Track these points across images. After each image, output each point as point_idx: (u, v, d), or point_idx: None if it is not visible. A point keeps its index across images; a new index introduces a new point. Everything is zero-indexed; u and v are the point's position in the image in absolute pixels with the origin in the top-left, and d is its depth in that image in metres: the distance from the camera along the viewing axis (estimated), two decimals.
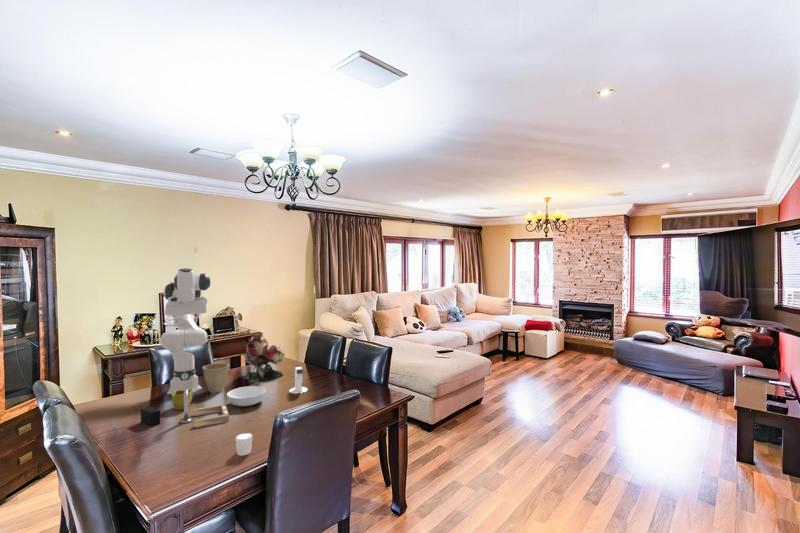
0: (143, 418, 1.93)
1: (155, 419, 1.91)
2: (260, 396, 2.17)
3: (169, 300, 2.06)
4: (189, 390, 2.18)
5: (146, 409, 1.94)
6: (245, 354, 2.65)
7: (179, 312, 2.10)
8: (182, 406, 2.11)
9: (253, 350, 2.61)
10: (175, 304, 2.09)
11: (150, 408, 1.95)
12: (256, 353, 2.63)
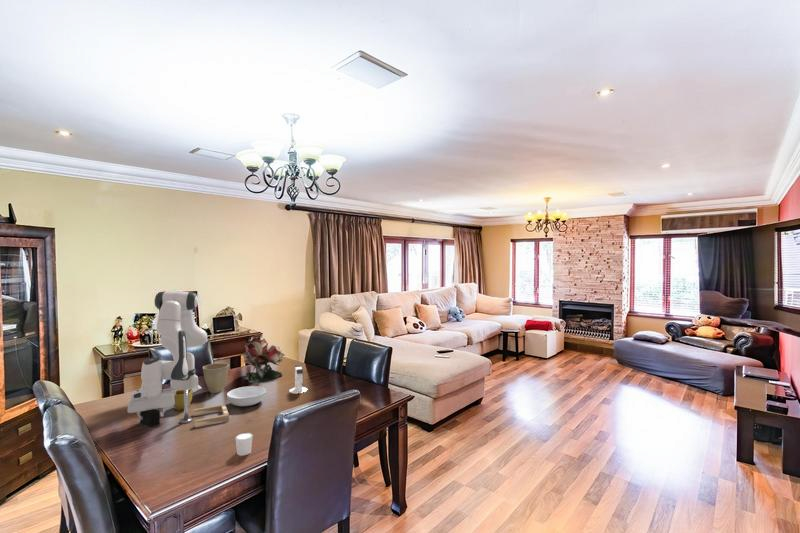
0: None
1: (154, 419, 1.91)
2: (260, 396, 2.17)
3: (132, 397, 1.87)
4: (189, 390, 2.18)
5: None
6: (245, 354, 2.64)
7: (144, 408, 1.91)
8: (182, 406, 2.11)
9: (253, 350, 2.60)
10: (139, 400, 1.90)
11: None
12: (256, 353, 2.62)
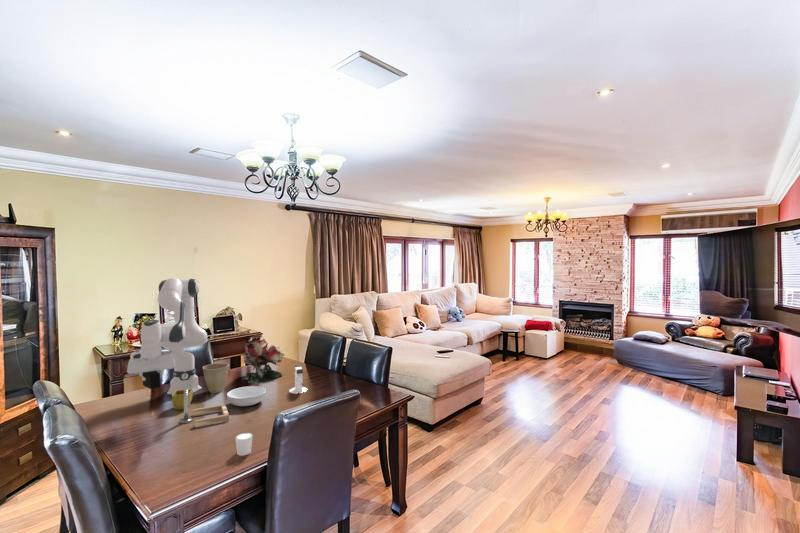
0: (145, 381, 1.94)
1: (154, 382, 1.90)
2: (260, 396, 2.17)
3: (131, 357, 1.87)
4: (189, 390, 2.18)
5: (147, 372, 1.94)
6: (244, 354, 2.64)
7: (144, 369, 1.91)
8: (182, 406, 2.11)
9: (252, 350, 2.60)
10: (138, 361, 1.89)
11: (151, 371, 1.95)
12: (255, 353, 2.62)
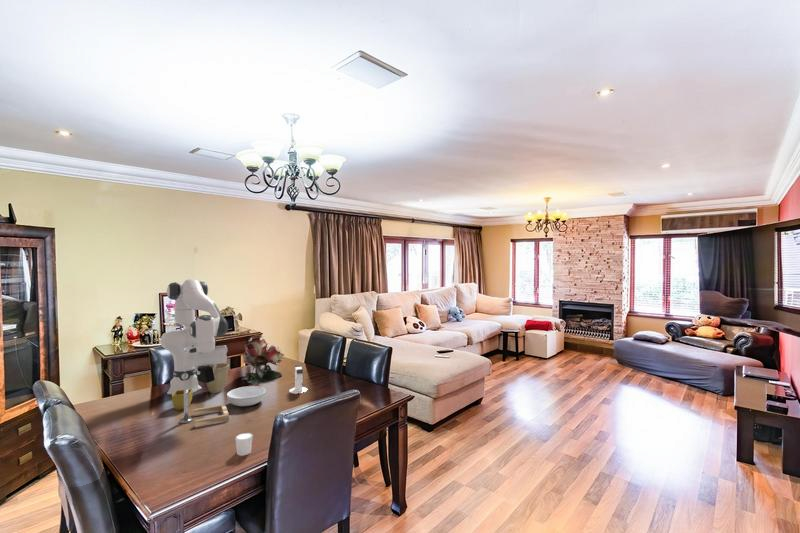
0: (199, 376, 1.98)
1: (209, 376, 1.94)
2: (260, 396, 2.17)
3: (188, 351, 1.91)
4: (189, 390, 2.18)
5: (200, 367, 1.98)
6: (244, 355, 2.63)
7: (199, 363, 1.95)
8: (182, 406, 2.11)
9: (252, 351, 2.60)
10: (194, 355, 1.93)
11: (204, 366, 1.99)
12: (255, 354, 2.61)
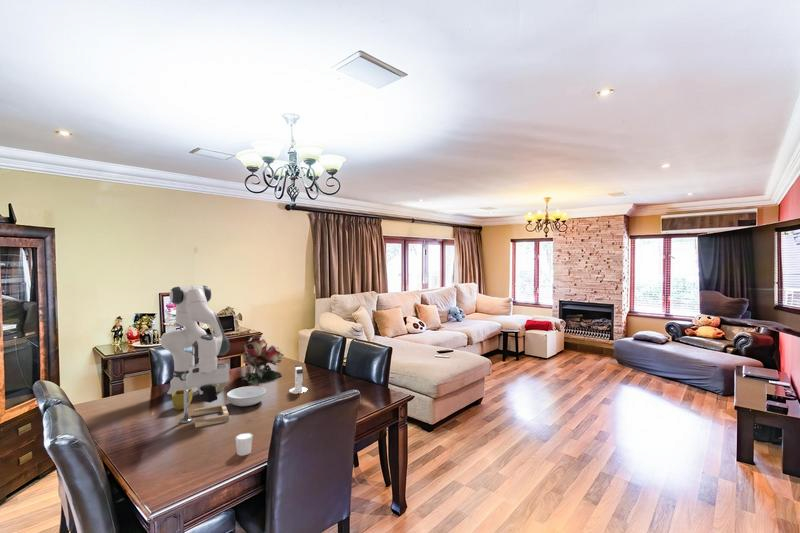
0: (202, 395, 1.99)
1: (212, 395, 1.96)
2: (260, 396, 2.17)
3: (191, 371, 1.92)
4: (189, 390, 2.18)
5: (203, 387, 1.99)
6: (244, 355, 2.63)
7: (201, 383, 1.96)
8: (182, 406, 2.11)
9: (252, 351, 2.59)
10: (197, 375, 1.95)
11: (206, 386, 2.00)
12: (255, 354, 2.61)
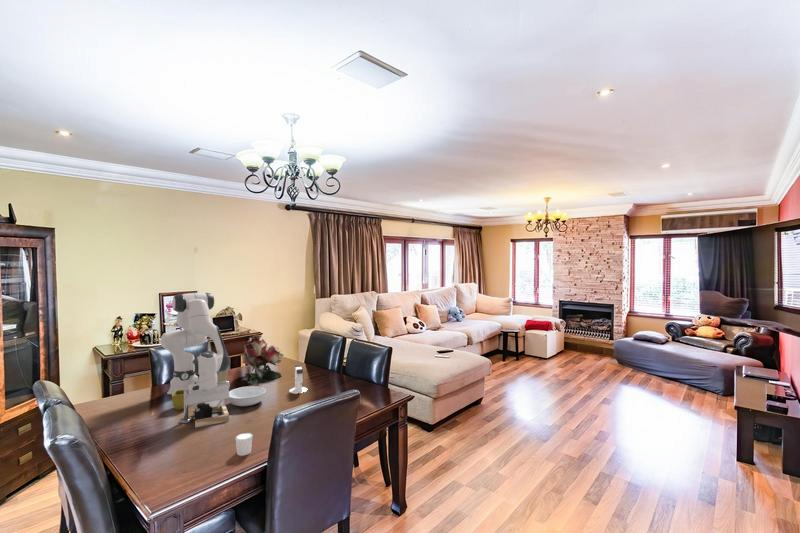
0: (197, 413, 1.98)
1: (207, 415, 1.95)
2: (260, 396, 2.17)
3: (191, 389, 1.93)
4: None
5: (200, 405, 1.99)
6: (243, 355, 2.62)
7: (201, 400, 1.96)
8: (182, 406, 2.11)
9: (252, 351, 2.59)
10: (197, 392, 1.95)
11: (204, 404, 2.00)
12: (255, 354, 2.61)
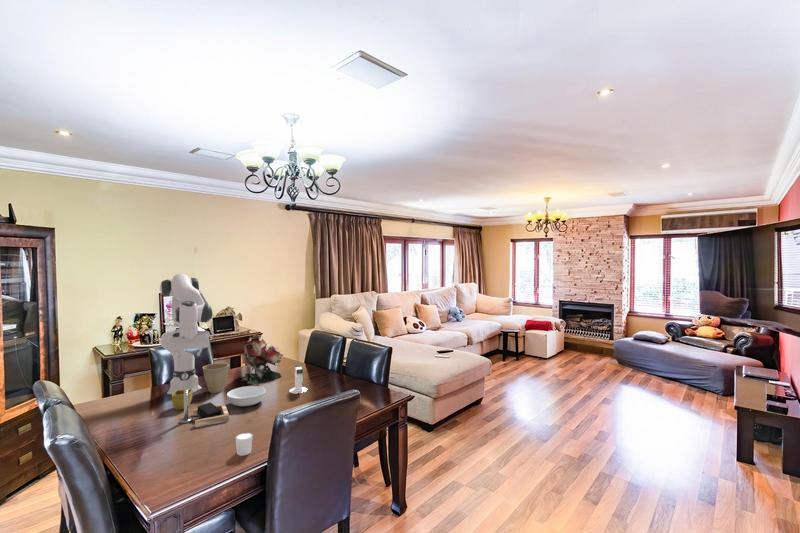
0: (205, 406, 2.01)
1: (214, 415, 1.97)
2: (260, 396, 2.16)
3: (171, 336, 1.99)
4: (189, 390, 2.18)
5: None
6: (243, 355, 2.62)
7: (182, 347, 2.03)
8: (182, 406, 2.11)
9: (251, 351, 2.58)
10: (177, 339, 2.01)
11: None
12: (254, 354, 2.60)
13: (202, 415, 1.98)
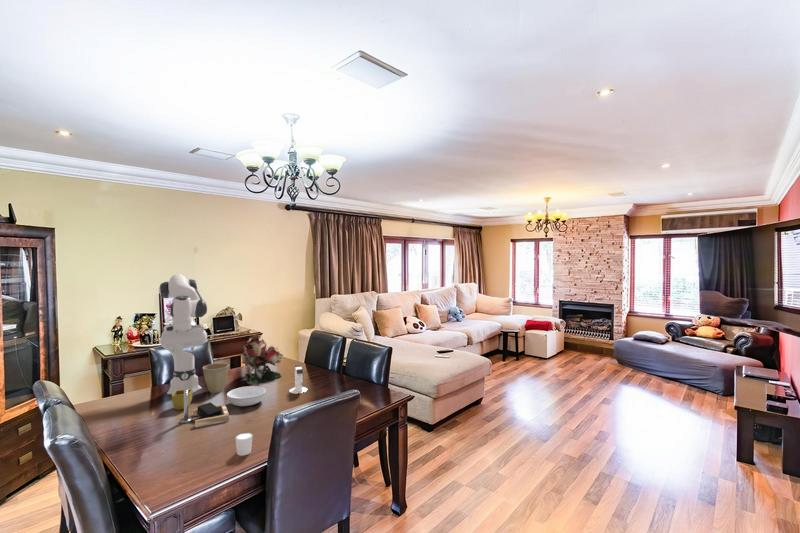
0: (205, 406, 2.01)
1: (214, 415, 1.97)
2: (260, 396, 2.16)
3: (165, 329, 2.01)
4: (189, 390, 2.18)
5: None
6: (243, 355, 2.61)
7: (176, 341, 2.05)
8: (182, 406, 2.11)
9: (251, 351, 2.58)
10: (171, 333, 2.03)
11: None
12: (254, 354, 2.60)
13: (202, 415, 1.98)
